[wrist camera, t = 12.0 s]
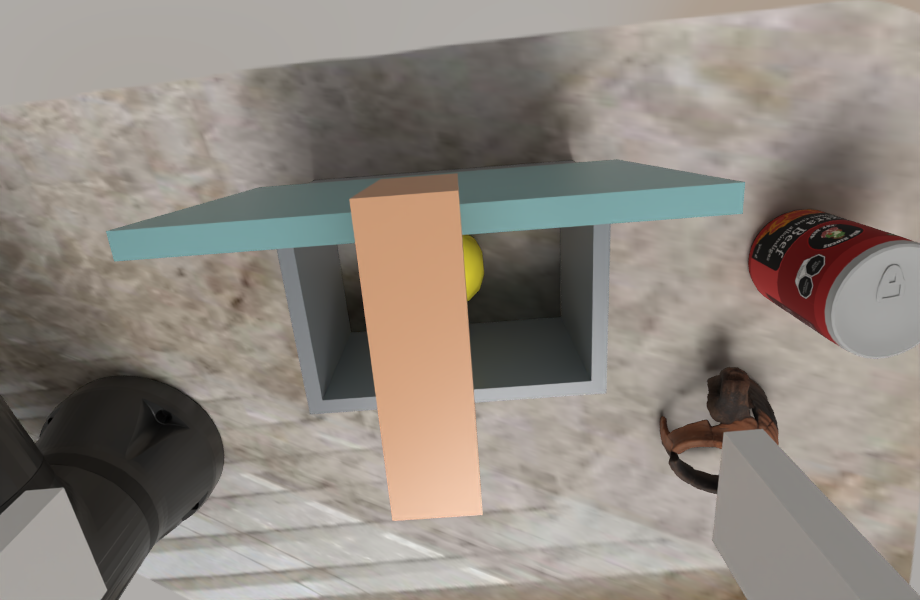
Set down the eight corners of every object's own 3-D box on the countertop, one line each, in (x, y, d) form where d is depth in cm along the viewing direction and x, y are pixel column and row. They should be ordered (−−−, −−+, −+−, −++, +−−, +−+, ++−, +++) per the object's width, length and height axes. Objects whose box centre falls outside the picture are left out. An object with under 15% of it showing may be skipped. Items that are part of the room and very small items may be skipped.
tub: (341, 343, 47) (310, 414, 37) (313, 180, 42) (268, 209, 32) (572, 326, 47) (606, 393, 36) (572, 160, 42) (611, 182, 31)
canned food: (826, 190, 43) (944, 221, 33) (849, 275, 45) (964, 329, 35) (732, 233, 44) (817, 276, 34) (759, 314, 47) (846, 378, 36)
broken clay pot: (771, 435, 52) (773, 512, 46) (666, 419, 56) (655, 488, 50) (786, 342, 45) (790, 419, 39) (664, 332, 49) (652, 400, 43)
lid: (55, 543, 15) (-58, 230, 12) (281, 310, 34) (256, 169, 31) (828, 491, 14) (878, 158, 12) (615, 285, 33) (617, 141, 31)
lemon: (481, 291, 46) (484, 324, 41) (417, 290, 46) (413, 323, 41) (484, 212, 43) (488, 238, 38) (415, 211, 43) (410, 237, 38)
